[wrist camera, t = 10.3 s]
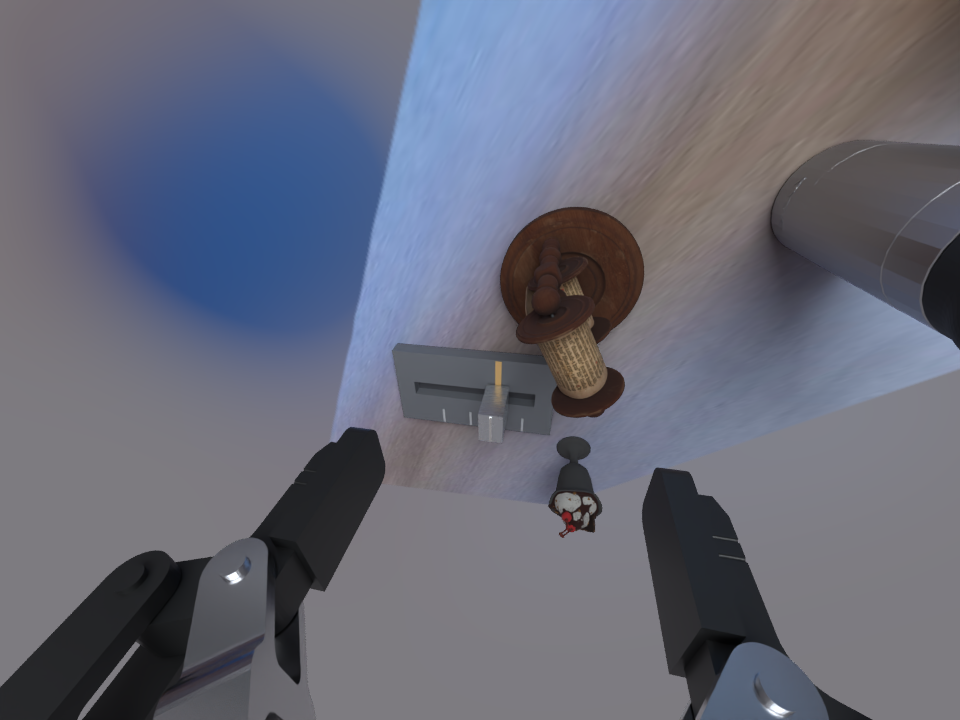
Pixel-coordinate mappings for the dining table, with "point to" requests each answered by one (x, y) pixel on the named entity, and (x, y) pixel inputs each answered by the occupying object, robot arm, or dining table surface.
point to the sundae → (575, 489)
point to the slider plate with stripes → (473, 385)
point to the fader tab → (493, 413)
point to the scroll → (573, 299)
